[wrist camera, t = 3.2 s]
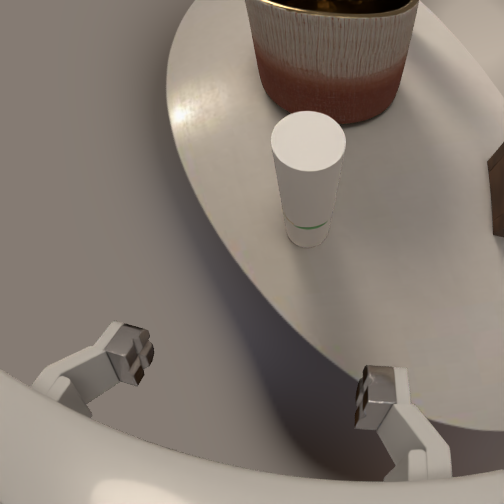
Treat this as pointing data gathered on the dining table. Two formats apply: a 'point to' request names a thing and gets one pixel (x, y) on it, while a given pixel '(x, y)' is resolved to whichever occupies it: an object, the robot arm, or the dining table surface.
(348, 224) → the dining table surface
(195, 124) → the dining table surface
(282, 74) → the planter
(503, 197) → the socket block
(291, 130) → the tube
